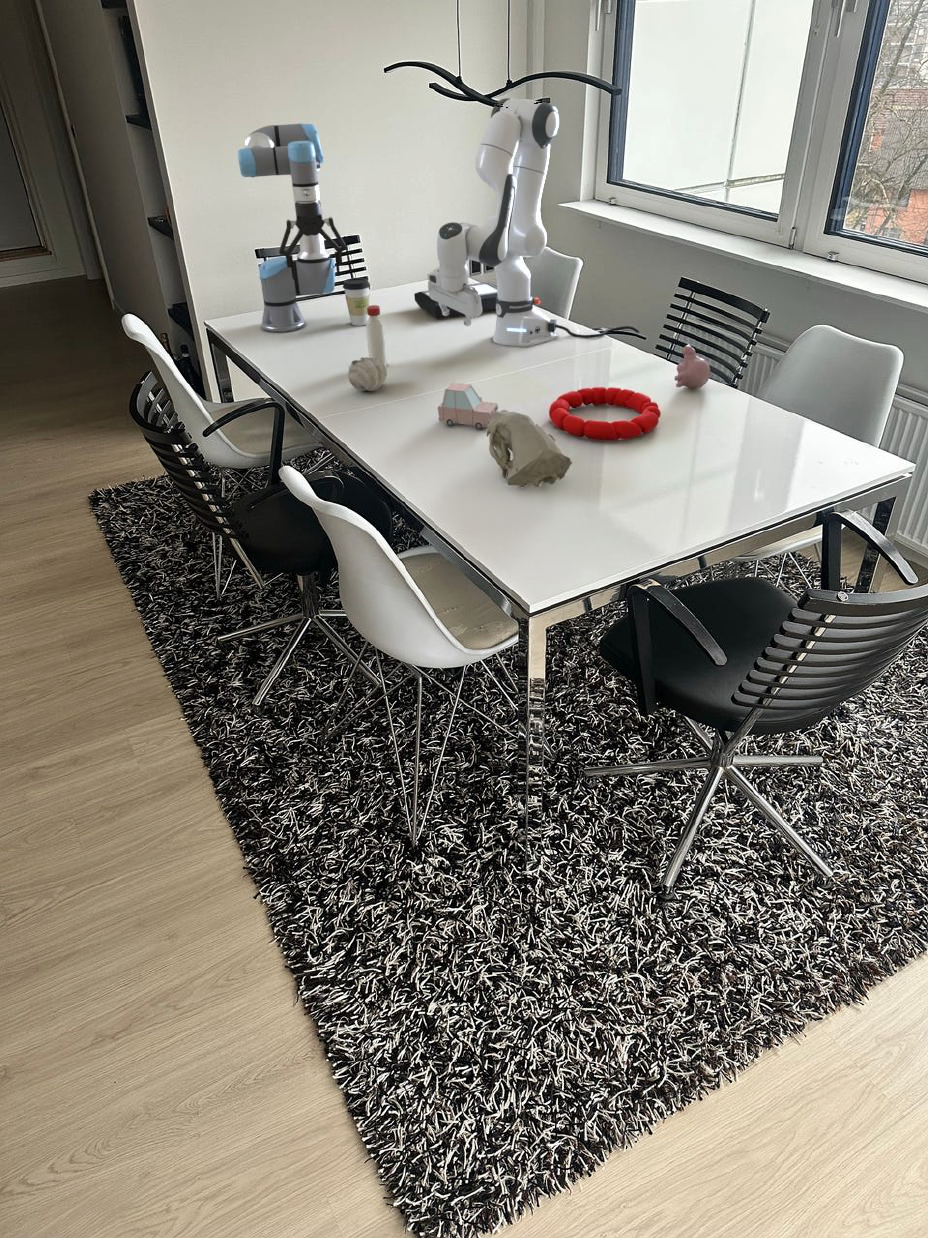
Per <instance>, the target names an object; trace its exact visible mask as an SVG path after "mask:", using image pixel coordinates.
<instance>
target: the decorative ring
mask: <svg viewBox="0 0 928 1238" xmlns="http://www.w3.org/2000/svg"><path fill="white" fill-rule="evenodd" d="M583 405H584V406H586V407H587V406H591V405H593V406H604V405H608V406H614V407H619V408H624V409H628V410H632V411H635V412H636V413H638V414H639V415H637V416H635V417H632V418H631V419H630V420H625V419H624V420H623V419H622V420H614V421H611V422H609V421H607V420H606V421H605V420H593V419H587V420H586V421H585V419H584V418H582V417H579V416H577V415H573V414H571V413H570V410H571V409H579V408H581V407H582V406H583ZM548 416H549V419H550V422H551V423H552V425H553V426H554V427H555V428H556V429H558V430H559V431H561V432H563V433H567V434H568V435H569V436H573V437H576V438H580V439H582V438H583V437H585V438H586V439H587V440H591V441H601V442H602V441H603V442H608V441H609V442H610V441H611V442H612V441H615V442H616V441H618V440H630V439H634V438H638V437H641V436H642V434H647V433H650V432H651V431H653V430H654V429H655V428H656V427H657V426H658V424H659V422H660V421H659V420H660V417H661V410H660V408H659V405H658V403H657V402H656V401H652V399H651V397H649V396H648V395H646V394H644V393H642V392H635V391H634V390H632V389H628V388H624V389H622V388H620V387H613V386H612V387H611V386H610V387H608V388H606V387H604V386H594V387H585V388H584V387H583V388H580V389H578V390H571V391H568V392H565V393H563V394H561V395H560V396H558V397H557V398H556V400H554V401H552V403H551V404H550V407H549V409H548Z"/></svg>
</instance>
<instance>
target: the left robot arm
mask: <svg viewBox="0 0 928 1238" xmlns="http://www.w3.org/2000/svg"><path fill="white" fill-rule="evenodd" d="M237 158H238V159H237V160H238V165H239V172H240V176H242V177H243V178H257V177H273V176H290V177H291V186H292V193H293V194H292V195H293V202H294V209H295V218H296V219H295V220H291V219H286V228H285V231H284V234H283V237H282V241H281V244H280V247H279V250H278V253H279V255H280V256H277V257H273V258H270V259H267V260H264V261H263V262H261V263H260V265H259V266H258V270H259V280H260V285H261V286H260V287H261V292H262V299H263V313H262V319H261V326H262V330H264V331H265V332H271V333H286V332H293V331H296V330H297V331H298V330H300V329H302V328H304V326H305V319H304V317H303V314H302V312H301V310H300V307H299V306H298V305H299V304H298V303H297V297H300V296H301V297H302V296H303V297H304V296H314V295H315V296H316V295H321V296H322V295H327V294H332V293H333V292H334V290H335V286H336V285H335V284H336V276H337V277H341V271H340V265H342V264H343V256H342V255H343V254H342V253H343V252H344V251H347V249H348V247H347V244H346V242H345V241H344V239H343V238H342V236H341V234H340V232H339V231H338V229H337V228H336V226H335V223H334V219H333V217H332V216H328V217H327V218H323V213H322V203H321V201H320V199H321V195H320V194H321V193H320V185H319V179H318V178H319V177H318V173H319V172H320V170H321V164H323V163H324V162H325V159H324V155H323V150H322V145H321V141H320V137H319V133H318V129H317V127H316V125H315V124H313V123H290V124H288V123H287V124H275V125H274V124H271V125H266V126H263V127H260V128H258V129H256V130H253V131H252V132H251V133H250V134H248V136H247V137H246V139H245V142H244V148H239V149H238V150H237ZM325 224H326V225H327V227H330V229H331V231H332V233H333V234H334V236H335V238H336V240H337V242H338V244H339V245H340V246H339V245H338V244H337V242H335V240H333V238H331V237H330V235H329V234H328V233H327V232H326V231H325V230H324V229H323V227H324V225H325ZM295 226H296V228H297V233H296V235H295V236H294V238H293V239H292V240H291V243H290V244H289V246H288V247H287V249H286V246H287V243H288V241H289V238H290V235H291V230H293V229H294V227H295ZM325 241H326V242H327V243H328V244H329V245H330V246H331V247H332V248H333V249H334V250H335V251H334V258H332V257H331V253H330V252H329V251H328V250H327V249H326V247H325ZM298 243H299V250H300V251H298V253H297V254H296V260H294V258H293V254H292V252H294V250H295V248H296V246H297V245H298ZM285 249H286V250H285Z"/></svg>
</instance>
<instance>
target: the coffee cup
mask: <svg viewBox="0 0 928 1238" xmlns="http://www.w3.org/2000/svg"><path fill="white" fill-rule="evenodd" d="M370 287H371V283H370V282H369V279H367V278H365V277H351V278H347V279H345V280H344V281H343V285H342V288H343V290H344V297H345V301H346V305H347V310H348V314H349V318H350V323H351V325H353V326H357V327H359V326H366V322H367V321H368V319H369V318H370V316H369V315H368V313H367V307H368V306H370Z"/></svg>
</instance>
